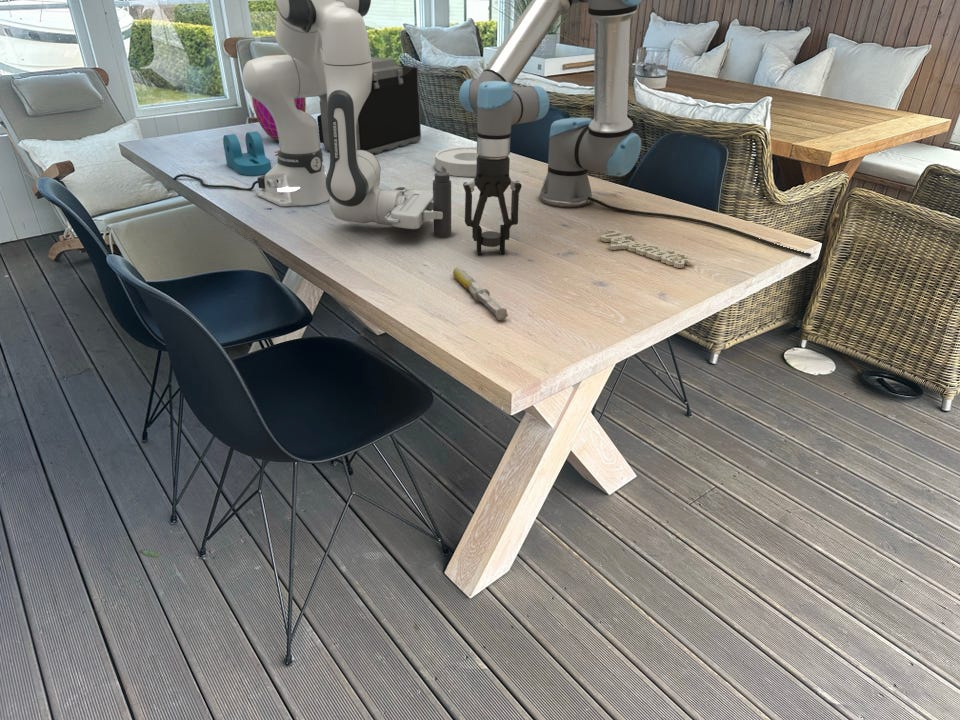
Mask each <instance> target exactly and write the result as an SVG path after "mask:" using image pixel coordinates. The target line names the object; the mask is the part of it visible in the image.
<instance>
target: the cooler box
mask: <svg viewBox="0 0 960 720" xmlns="http://www.w3.org/2000/svg"><path fill="white" fill-rule="evenodd" d="M371 61H372V86H371V92H370V94H369V96H368V97H367V99H366V101H365V103H364V105H363V106H362V109H361V111H360V113H359V116H358V119H357V125H356V138H357V150H365V151H368V152H370V153H371V154H373V155H374V154H375V155H377V154H381V153H382V152H383V151H391V150H395V149H396V148H397V147H405V146H407V145H408V144H416V143H418V142H419V141H421V137H422V128H421V97H420V92H419V91H420V89H419V68H418V67H417V66H408V65H400V64H396V62H395V60H394V59H393V58H385V57H377V56H371ZM318 98H319V110H320V111H319V112H320V114H319V115H317V116H316V119H317V120H316V121H317V125H318V134H319V143H320V144H323V146H324V149H325V150H327V151H330V149H329V132H328V105H327V94H324V95H321V96H318Z"/></svg>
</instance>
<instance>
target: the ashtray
mask: <svg viewBox="0 0 960 720" xmlns="http://www.w3.org/2000/svg"><path fill="white" fill-rule="evenodd" d="M477 157H478V154H477V146H476V147H473V146H459V147H450V148H445V149H442V150H439V151H438V152H436V153H435V154H434V162H435V163H434V165H435V166H434V167H435V170H436V171H437V172H447V173H449V176H453V177H464V178H465V177H467V178H468V177H469V178H471V177H472V178H473V177H474V178H475V177H476V164H477Z"/></svg>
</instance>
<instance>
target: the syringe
mask: <svg viewBox="0 0 960 720" xmlns="http://www.w3.org/2000/svg"><path fill="white" fill-rule="evenodd" d="M452 274H453V277H454V279H455V280H457V281H458V282H459V283H460V285H462V287H464V289H466V290H467V291H468V293H470V295H471V296H472V298H473V300H474V302H477V303H478V302H480V303H482V304H483V305H484V306H485V307H486V308H487V309H488V310H489V311H490V312H491V313H492V314H493V315H494V316H495V317H496V320H497V321H503V320H504V319H506V318H507V317H509V314H508V310H507V308H506V307H502V306H501V305H500V303H498V302H497V301H496V300H494V299H493V298H492V297H491V296H490V295H491V293H490V290H488V289H486V288H483V287H482V286H481V285H480V284H479V283H478V282H477V281H476V280H474V278H473V277H471V275H469V274H468V273H467V272H466V270H465V269H464V268H463V267H462V266H456V267H454V268H453V271H452Z"/></svg>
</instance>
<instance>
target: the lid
mask: <svg viewBox="0 0 960 720" xmlns="http://www.w3.org/2000/svg"><path fill="white" fill-rule="evenodd" d="M501 239H502V237H501V234H500V232H498V231H494V230H493V231H492V230H487V231H482V245H481V246H483V247H486V248H496V247H500V245H501Z"/></svg>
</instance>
